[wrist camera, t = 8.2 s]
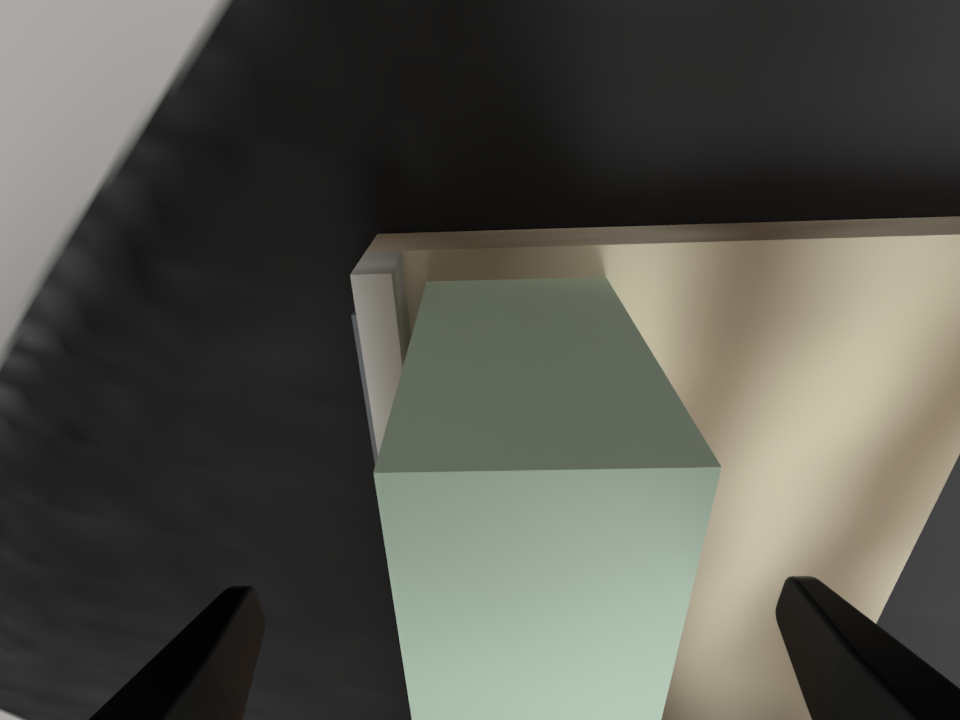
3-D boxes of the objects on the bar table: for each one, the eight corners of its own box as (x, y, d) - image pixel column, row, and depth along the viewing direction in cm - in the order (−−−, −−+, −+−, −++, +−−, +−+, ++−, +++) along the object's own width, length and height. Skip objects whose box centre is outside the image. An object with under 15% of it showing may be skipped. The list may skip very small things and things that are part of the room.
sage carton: (608, 277, 12) (725, 466, 6) (585, 525, 15) (646, 793, 10) (424, 281, 12) (368, 473, 6) (444, 527, 15) (420, 794, 10)
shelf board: (1007, 214, 13) (1147, 252, 10) (803, 688, 22) (848, 774, 19) (369, 234, 13) (339, 275, 10) (429, 692, 22) (421, 777, 19)
